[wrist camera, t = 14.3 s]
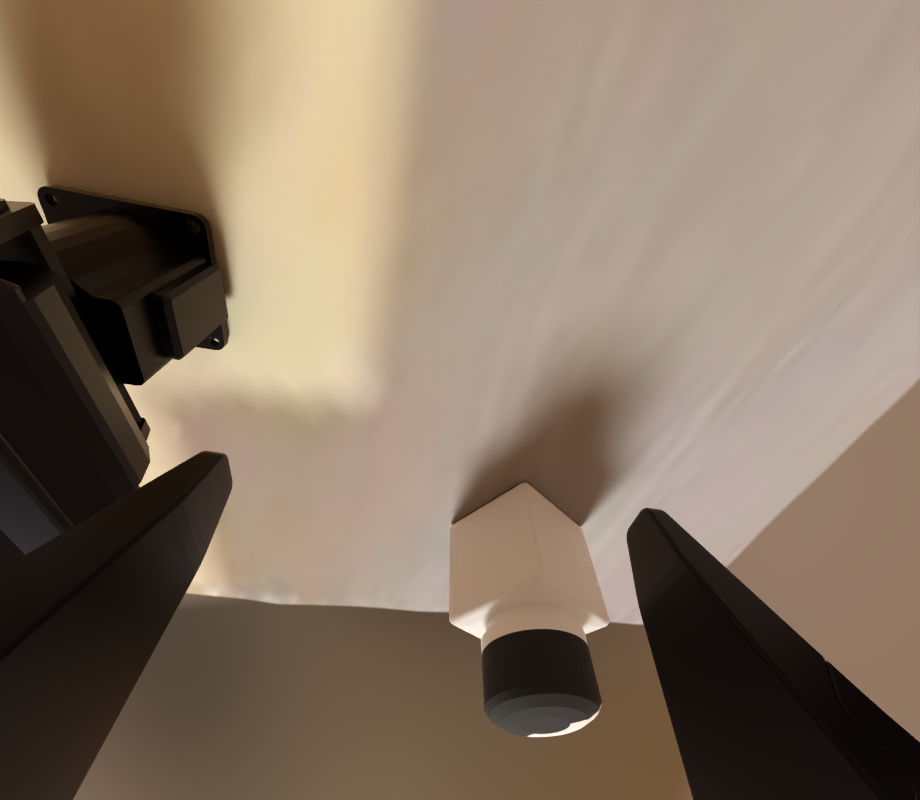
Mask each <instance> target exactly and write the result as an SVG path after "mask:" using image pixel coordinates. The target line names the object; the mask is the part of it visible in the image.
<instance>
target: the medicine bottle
mask: <svg viewBox="0 0 920 800" xmlns="http://www.w3.org/2000/svg"><path fill="white" fill-rule="evenodd" d="M449 620H450V622H451V623H452V624H453V625H455V626H457V627H459V628H461V629H463V630H464V631H466V632H468V633H470V634H472V635H474V636H476V637H479V638H480V639H481V651H482V671H483V693H484V711H485V713H486V715H487V716H488V718H489V719H490V720H491V722H492V723H493V724H495V725H496V726H498V727H500V728H502V729H504V730H506V731H508V732H510V733H513V734H516V735H521V736H529V737H549V736H557V735H563V734H567V733H570V732H574V731H576V730H579V729H580V728H582V727H583V726H585V725H586V724H588V723H589V722H590V721H592V720H593V719H594V718H595V717H596V716H597V715H598V713H599V710H600V707H601V705H602V700H601V696H600V692H599V688H598V684H597V680H596V676H595V672H594V668H593V664H592V660H591V656H590V652H589V648H588V644H587V640H586V636H585V634H587V633H589V632H592V631H595V630H597V629H600V628H603V627H605V626H607V625H608V624H609V616H608V613H607V610H606V606H605V603H604V600H603V597H602V593H601V590H600V587H599V583H598V580H597V577H596V574H595V570H594V567H593V564H592V561H591V557H590V554H589V551H588V547H587V544H586V541H585V538H584V534H583V531H582V529H581V528H580V527H579V526H578V525H577V524H576V523H575V522H573V521H572V520H571V519H570V518H569V517H567V516H566V515H565V514H564V513H563V512H561V511H560V510H559V509H558V508H557V507H555V506H554V505H553V504H552V503H551V502H549V501H548V500H547V499H546V498H545V497H543V496H542V495H541V494H540V493H539V492H537V491H536V490H535V489H534V488H533V487H531V486H530V485H529V484H528V483H524V482H523V483H521V484H519V485H518V486H516V487H515V488H513V489H511V490H510V491H508V492H506V493H505V494H503V495H501V496H500V497H498V498H496V499H495V500H493V501H491V502H490V503H488V504H486V505H485V506H483V507H481V508H480V509H478V510H476V511H475V512H473V513H471V514H470V515H468V516H466V517H465V518H463V519H461V520H460V521H458V522H456V523H455V524H453V525H452V526H451V528H450V598H449Z"/></svg>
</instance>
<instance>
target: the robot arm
mask: <svg viewBox="0 0 920 800" xmlns="http://www.w3.org/2000/svg"><path fill="white" fill-rule="evenodd" d="M37 193H38V198H39V201H40V204H41V206H42V209H43V212H44V214H45V217H46V220H47V222H48V225H44V226H41V224H42V223H44V221H43V219H42V217H41V215H40V213H39V211H38V210H37V208H36V206H35V204H34V203H32V202H14V201H5V199H1V198H0V800H73V799H74V797H75V795H76V793H77V791H78V789H79V788H80V786H81V784H82V782H83V780H84V778H85V777H86V775H87V773H88V771H89V769H90V767H91V765H92V764H93V762H94V760H95V758H96V756H97V754H98V753H99V751H100V749H101V747H102V745H103V743H104V742H105V740H106V738H107V736H108V734H109V732H110V731H111V729H112V727H113V725H114V723H115V721H116V720H117V718H118V716H119V714H120V712H121V710H122V708H123V707H124V705H125V703H126V701H127V699H128V698H129V696H130V694H131V692H132V690H133V688H134V687H135V685H136V683H137V681H138V679H139V677H140V676H141V674H142V672H143V670H144V668H145V666H146V664H147V663H148V661H149V659H150V657H151V655H152V653H153V652H154V650H155V648H156V646H157V644H158V642H159V640H160V639H161V637H162V635H163V633H164V631H165V629H166V628H167V626H168V624H169V622H170V620H171V619H172V617H173V615H174V613H175V611H176V609H177V607H178V606H179V604H180V602H181V600H182V598H183V597H184V595H185V593H186V591H187V589H188V587H189V585H190V584H191V582H192V580H193V578H194V576H195V574H196V573H197V571H198V569H199V567H200V565H201V563H202V560H203V558H204V556H205V554H206V551H207V549H208V546H209V544H210V542H211V539H212V537H213V534H214V532H215V529H216V527H217V524H218V522H219V520H220V517H221V515H222V512H223V510H224V507H225V505H226V502H227V500H228V498H229V495H230V492H231V489H232V476H231V471H230V466H229V461H228V457H227V455H226V454H224V453H219V452H212V451H203V452H200V453H198V454H197V455H195V456H193V457H192V458H190V459H188V460H186V461H185V462H183V463H181V464H180V465H178V466H176V467H174V468H173V469H171V470H169V471H168V472H166V473H164V474H163V475H161V476H159V477H157V478H156V479H154V480H152V481H151V482H149V483H147V484H145V485H144V486H142V487H139V484H140V482H141V481H142V479H143V476H144V474H145V472H146V470H147V468H148V465H149V463H150V455H149V446H148V444H147V442H146V440H147V438H148V435H149V432H150V428H149V426H148V424H147V422H146V420H145V419H144V418H141V417H140V415H139V413H138V411H137V409H136V407H135V405H134V403H133V401H132V399H131V398H130V396H129V394H128V392H127V390H126V388H125V386H124V384H131V385H142V384H143V383H145V382H146V381H147V380H148V379H149V378H151V377H152V376H153V375H154V374H155V373H156V372H158V371H159V370H160V369H161V368H162V367H163V366H165V365H166V364H167V363H168V362H169V361H170V360H172V359H176V360H180V359H182V358H183V357H184V356H186V355H187V354H188V353H189V352H190V351H191V350H192V349H194V348H195V347H200V348H206V349H213V350H220V349H222V348H223V347H224V346H225V345H226V344H227V343H228V336H227V329H226V323H225V320H226V319H227V318H228V314H227V307H226V301H225V294H224V287H223V281H222V274H221V270H220V268H219V267H218V266H217V265H216V259H215V252H214V246H213V239H212V233H211V227H210V224H209V222H208V220H207V219H206V218H205V217H204V216H203V215H201V214H199V213H195V212H190V211H185V210H180V209H175V208H170V207H164V206H159V205H154V204H149V203H144V202H138V201H133V200H128V199H123V198H118V197H113V196H107V195H102V194H97V193H92V192H87V191H82V190H76V189H71V188H66V187H61V186H56V185H50V186H44V187H41V188H39V190H38V192H37ZM53 195H54V196H55V197H56V198H57V200H58V201H59V204H58V203H57V202H56V201H55V200H54V199H53ZM192 221H195V222H196V223H197V224H198V225H199V227H200V231H198V230H196V229H195V228H194V227H193V225H192ZM213 337H215V338H217V339H218V340H219V342H217V341H215V340H214V339H213ZM627 544H628V550H629V555H630V561H631V567H632V572H633V578H634V583H635V589H636V595H637V599H638V604H639V608H640V612H641V616H642V620H643V623H644V627H645V630H646V634H647V638H648V641H649V645H650V648H651V652H652V655H653V659H654V662H655V666H656V669H657V673H658V676H659V680H660V684H661V687H662V690H663V694H664V698H665V701H666V705H667V708H668V712H669V715H670V719H671V723H672V726H673V730H674V733H675V737H676V740H677V744H678V747H679V751H680V754H681V758H682V762H683V765H684V768H685V772H686V776H687V779H688V783H689V786H690V790H691V793H692V797H693V800H920V742H919V741H918V740H916V739H915V738H914V737H913V736H912V735H910V734H909V733H908V732H907V731H906V730H905V729H903V728H902V727H901V726H900V725H899V724H898V723H896V722H895V721H894V720H893V719H892V718H891V717H889V716H888V715H887V714H886V713H885V712H884V711H882V710H881V709H880V708H879V707H878V706H877V705H876V704H875V703H874V702H872V701H871V700H870V699H869V698H868V697H867V696H866V695H864V694H863V693H862V692H861V691H860V690H859V689H858V688H857V687H856V686H855V685H853V684H852V683H851V682H850V681H849V680H848V679H847V678H846V677H845V676H844V675H842V674H841V673H840V672H839V671H838V670H837V669H836V668H835V667H833V665H832V664H830V663H829V662H828V661H825V659H824V658H823V656H822V655H821V654H819V653H818V652H817V651H816V650H815V649H814V648H813V647H812V646H811V645H810V644H808V643H807V642H806V641H805V640H804V639H803V638H802V637H801V636H800V635H799V634H798V633H796V632H795V631H794V630H793V629H792V628H791V627H790V626H789V625H788V624H787V623H786V622H785V621H783V620H782V619H781V618H780V617H779V616H778V615H777V614H776V613H775V612H773V610H771V609H770V608H769V607H768V606H767V605H766V604H765V603H764V602H763V601H762V600H761V599H759V598H758V597H757V596H756V595H755V594H754V593H753V592H752V591H751V590H750V589H748V588H747V587H746V586H745V585H744V584H743V583H742V582H741V581H740V580H739V579H738V578H737V577H735V576H734V575H733V574H732V573H731V572H730V571H729V570H728V569H727V568H726V567H725V566H723V565H722V564H721V563H720V562H719V561H718V560H717V559H716V558H715V557H714V556H713V555H711V554H710V553H709V552H708V551H707V550H706V549H705V548H704V547H703V546H702V545H701V544H699V543H698V542H697V541H696V540H695V539H694V538H693V537H692V536H691V535H690V534H689V533H687V532H686V531H685V530H684V529H683V528H682V527H681V526H680V525H679V524H678V523H677V522H675V521H674V520H673V519H672V518H671V517H670V516H669V515H668V514H667V513H666V512H664V511H663V510H659V509H652V508H644V509H642V510H641V511H640V513H639V514H638V516H637V517H636V519H635V520H634V521H633V523H632V524H631V526H630V527H629V529H628V532H627Z"/></svg>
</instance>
